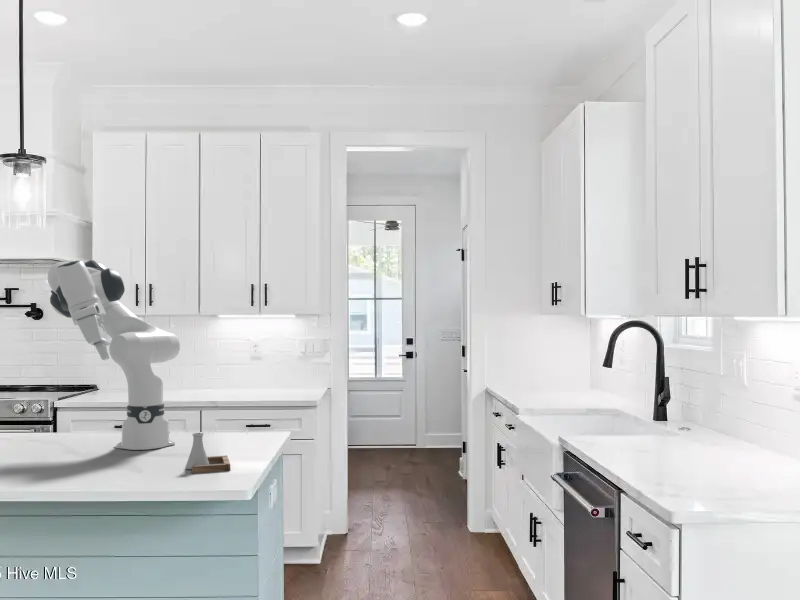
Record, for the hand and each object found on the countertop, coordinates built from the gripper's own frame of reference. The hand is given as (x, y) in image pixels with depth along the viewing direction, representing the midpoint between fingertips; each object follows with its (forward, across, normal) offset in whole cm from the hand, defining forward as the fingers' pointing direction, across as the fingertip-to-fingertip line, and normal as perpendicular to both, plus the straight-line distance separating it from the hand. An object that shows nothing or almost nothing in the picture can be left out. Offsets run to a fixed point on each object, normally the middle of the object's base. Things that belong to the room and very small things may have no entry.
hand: (105, 359), depth 201 cm
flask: (+39, -3, +12) cm, 41 cm away
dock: (+40, -3, +15) cm, 43 cm away
